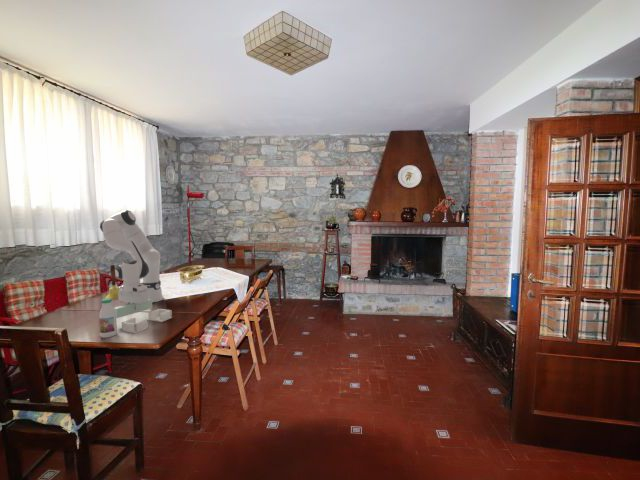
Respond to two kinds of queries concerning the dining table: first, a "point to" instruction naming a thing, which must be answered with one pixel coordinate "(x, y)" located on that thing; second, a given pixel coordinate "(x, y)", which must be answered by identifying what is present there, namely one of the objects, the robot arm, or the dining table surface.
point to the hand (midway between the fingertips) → (133, 309)
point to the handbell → (113, 285)
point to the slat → (132, 308)
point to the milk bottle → (107, 319)
